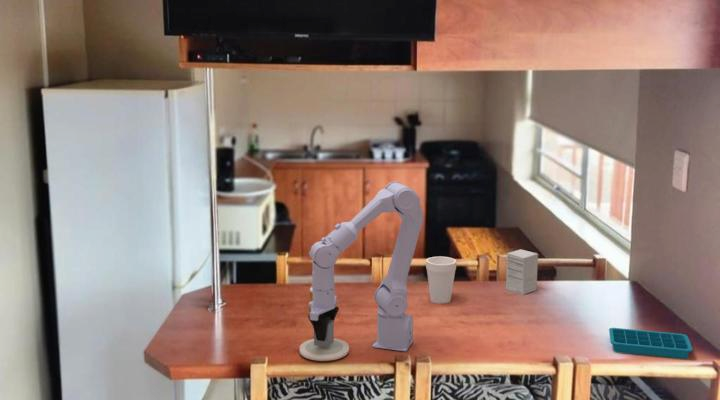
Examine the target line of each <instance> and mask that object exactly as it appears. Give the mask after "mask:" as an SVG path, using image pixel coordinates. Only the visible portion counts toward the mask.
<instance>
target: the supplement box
mask: <svg viewBox="0 0 720 400" xmlns="http://www.w3.org/2000/svg"><path fill="white" fill-rule="evenodd" d="M538 260H539V253H537V252H532V251H528V250H526V249H525V250H524V249H521V248H520V249H517V250H514V251H511V252H507V254H506V270H505V271H506V277H505V280H506V281H505V290H507V291H509V292H513V293H516V294H519V295H523V296H524V295H526V294H530V293H531V292H535V291H537V287H538V286H537V285H538V262H539V261H538Z"/></svg>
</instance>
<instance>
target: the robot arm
mask: <svg viewBox="0 0 720 400" xmlns="http://www.w3.org/2000/svg"><path fill="white" fill-rule="evenodd" d="M383 213H397V214H398V216H399V217H400V219H401V222H400V226H399V231H398V234H397V237H396V241H395V244H394V248H393V251H392V254H391V259H390V263H389V265H388V266H389V267H388V269H387V274H386V275H385V277H383V278H382V279H381V283H380V285H379V286H378V287H377V289H376V290H375V292H374V300H375V303H376V304H377V305H378V308H377V312H376V313H377V315H376V317H377V318H376V319H377V323H376V326H377V329H376V330H377V331H376V335H377V336H376V338H377V339H376V341H375V342H374V343H373V344H372V348H377V349H385V350H392V351H400V352H407V351H408V349H409V348H410V346H411V345H412V344H413V343H414V318H413V315H412V314H411V315H410V314H408V313H406V311H407V309H408V299H407V297H408V292H409V291H408V286H407V279H408V276H409V272H410V268H411V264H412V261H413V257H414V254H415V250H416V246H417V243H418V239H419V235H420V232H421V228H422V224H423V221H424V216H423V211H422V207H421V197H420V196H419V195H418V193H417V192H416V191H415V190H414V189H413V188H411V187H408V186H407V185H404V184H402V183H401V182H399V181H392V182H389V183H388V184H386V185H385V188H382V189H380V190H379V191H378V193H376V195H375V196H374V197H373V199H371V200H370V201H369V203H367V204H366V205H365V206H364V207H362V209H361V210H360V211H359V212H358V213H357V214H356V215H354V217H353V218H352V219H351V220H350V221H343V222H341V223H336V224H335V225H334V229H333V230H332V231H330V233H329V234H327V235H326V236H325V237H324V236H323V237H322V238H320V239H321V240H320V241H316V242H315V243H313V244H312V245H311V248H310V250H309V251H308V254H309V257H310V259H311V260H312V267H311V268H312V271H311V273H312V274H311V278H312V279H311V287H312V288H313V301H311V302H310V301H309V302H308V306H309V307H310V306H312V309H311V311H310V312H309V314H308V317H307V318H308V320H309V321H310V323H311V325H312V327H313V332H314V331H315V335H316V338H317V340H319V341H325V338H326V332H327V326H328V322H329V320H334V321H335V319H336V317H337V315H338V312H339V309H340V308H339V306H336V303H338V295H335V264H336V263H337V262H338V256H339V255H340V254H341V253H343V252H344V251H345V250H347V248H348V247H350V245H352V244H353V243H354V242H355V241H357V240H358V238H359V236H358V235H359V232H360V231H361V230H362V229H363V228H365V227H366V226H367V225H368V224H370V223H371V222H372V221H373V220H375V219H376V218H378V217H379V216H380V215H381V214H383Z"/></svg>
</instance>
